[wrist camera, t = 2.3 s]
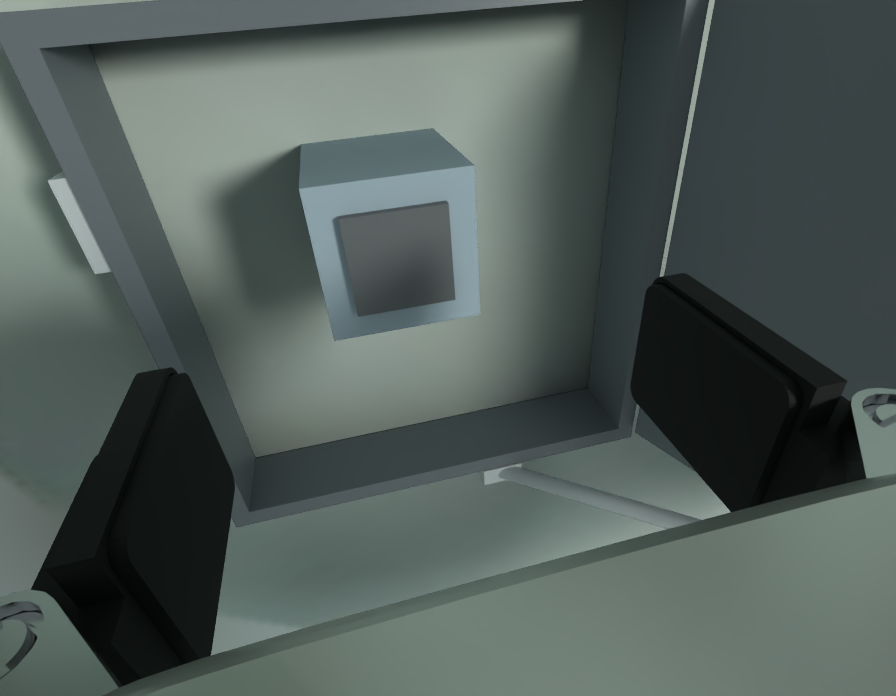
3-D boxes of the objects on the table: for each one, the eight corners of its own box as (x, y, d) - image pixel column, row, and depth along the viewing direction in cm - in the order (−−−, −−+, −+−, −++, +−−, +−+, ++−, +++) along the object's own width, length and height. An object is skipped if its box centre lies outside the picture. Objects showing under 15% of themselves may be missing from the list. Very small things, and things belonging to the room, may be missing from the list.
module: (432, 127, 20) (477, 167, 14) (442, 249, 22) (482, 318, 17) (301, 144, 19) (298, 192, 14) (328, 267, 22) (335, 345, 16)
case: (735, -40, 19) (1167, -100, 9) (649, 399, 30) (801, 569, 21) (24, 16, 15) (-441, 13, 6) (238, 489, 27) (201, 741, 18)
